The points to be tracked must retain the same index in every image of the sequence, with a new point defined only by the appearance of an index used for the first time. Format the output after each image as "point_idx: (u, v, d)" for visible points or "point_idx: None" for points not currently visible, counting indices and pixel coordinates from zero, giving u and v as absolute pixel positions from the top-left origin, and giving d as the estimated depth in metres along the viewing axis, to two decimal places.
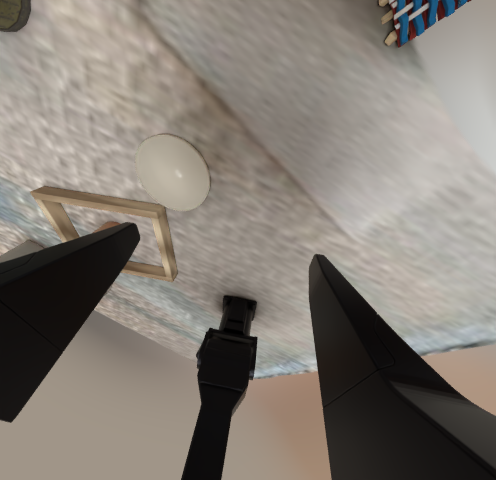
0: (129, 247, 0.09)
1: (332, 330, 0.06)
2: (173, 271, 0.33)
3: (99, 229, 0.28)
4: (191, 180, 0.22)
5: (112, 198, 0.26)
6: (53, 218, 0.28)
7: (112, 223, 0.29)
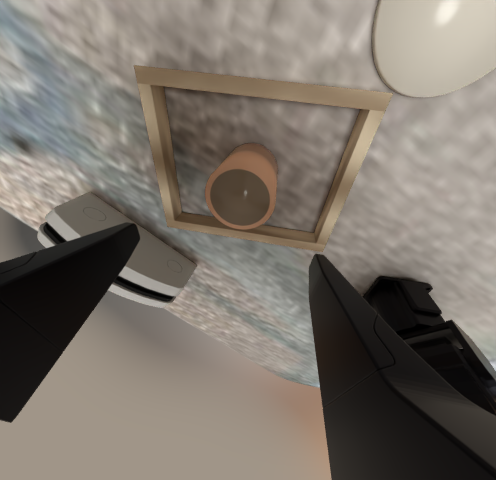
0: (129, 247, 0.09)
1: (332, 330, 0.06)
2: None
3: (242, 148, 0.16)
4: None
5: None
6: (159, 132, 0.16)
7: (254, 144, 0.17)
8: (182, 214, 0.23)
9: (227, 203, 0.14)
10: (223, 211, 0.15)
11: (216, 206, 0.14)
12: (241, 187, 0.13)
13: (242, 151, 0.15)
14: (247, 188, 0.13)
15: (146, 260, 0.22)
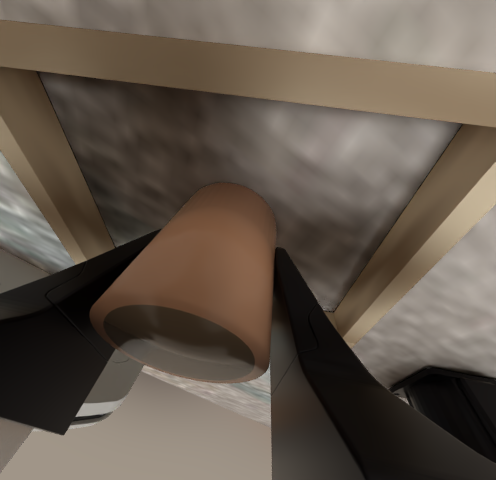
0: None
1: (278, 319, 0.06)
2: None
3: (202, 203, 0.07)
4: None
5: None
6: (32, 166, 0.08)
7: (231, 187, 0.09)
8: None
9: (153, 351, 0.06)
10: (150, 359, 0.06)
11: (131, 350, 0.06)
12: (178, 335, 0.05)
13: (196, 217, 0.07)
14: (192, 338, 0.05)
15: None
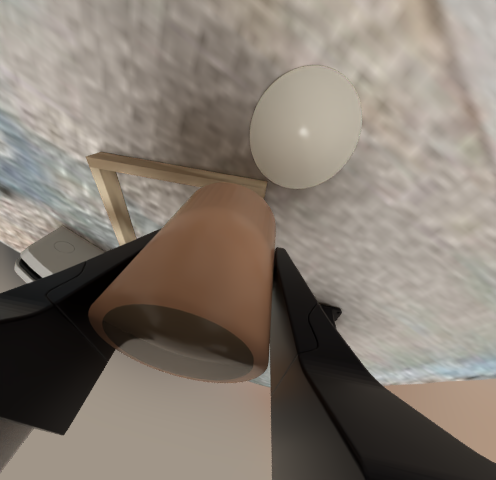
0: None
1: (278, 320, 0.06)
2: None
3: (201, 203, 0.07)
4: (332, 141, 0.16)
5: (196, 170, 0.19)
6: (109, 197, 0.21)
7: (230, 187, 0.09)
8: None
9: (152, 351, 0.06)
10: (149, 359, 0.06)
11: (130, 349, 0.06)
12: (177, 334, 0.05)
13: (195, 216, 0.07)
14: (191, 338, 0.05)
15: None
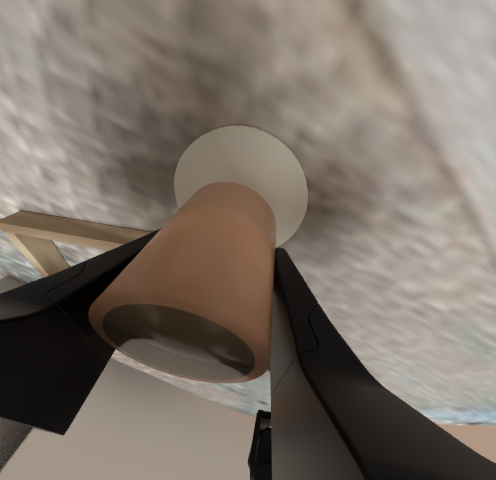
0: None
1: (278, 319, 0.06)
2: None
3: (202, 202, 0.07)
4: (275, 208, 0.13)
5: (128, 231, 0.16)
6: (36, 259, 0.18)
7: (231, 186, 0.09)
8: None
9: (152, 351, 0.06)
10: (149, 359, 0.06)
11: (130, 350, 0.06)
12: (178, 334, 0.05)
13: (196, 216, 0.07)
14: (192, 338, 0.05)
15: None
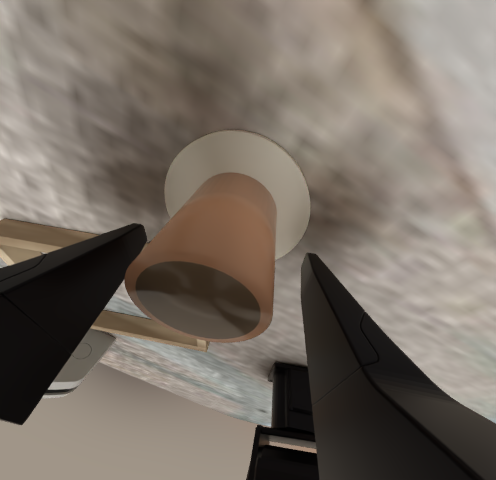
0: (136, 248, 0.09)
1: (321, 328, 0.06)
2: None
3: (213, 189, 0.09)
4: None
5: None
6: None
7: (236, 176, 0.10)
8: None
9: (174, 310, 0.07)
10: (171, 319, 0.07)
11: (155, 311, 0.07)
12: (198, 290, 0.06)
13: (208, 199, 0.08)
14: (210, 293, 0.06)
15: None
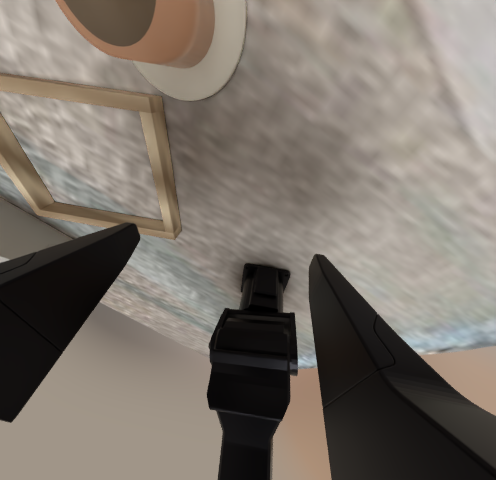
0: (129, 247, 0.09)
1: (332, 330, 0.06)
2: (175, 223, 0.23)
3: None
4: None
5: (74, 84, 0.16)
6: None
7: None
8: (53, 203, 0.24)
9: None
10: (83, 8, 0.08)
11: None
12: None
13: None
14: None
15: (14, 243, 0.23)
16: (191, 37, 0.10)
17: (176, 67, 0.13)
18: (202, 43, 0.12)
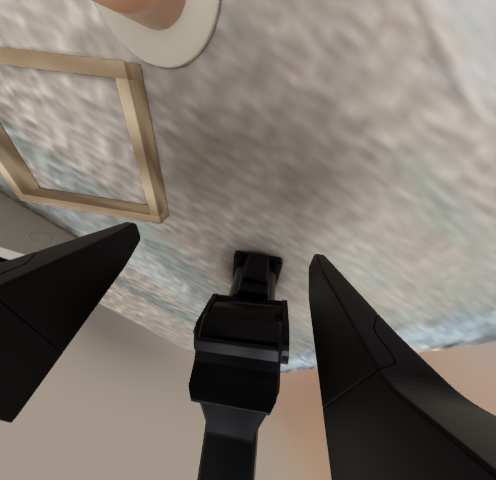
0: (129, 247, 0.09)
1: (332, 330, 0.06)
2: (161, 206, 0.22)
3: None
4: None
5: None
6: None
7: None
8: (37, 189, 0.24)
9: None
10: None
11: None
12: None
13: None
14: None
15: None
16: None
17: (150, 26, 0.13)
18: None
